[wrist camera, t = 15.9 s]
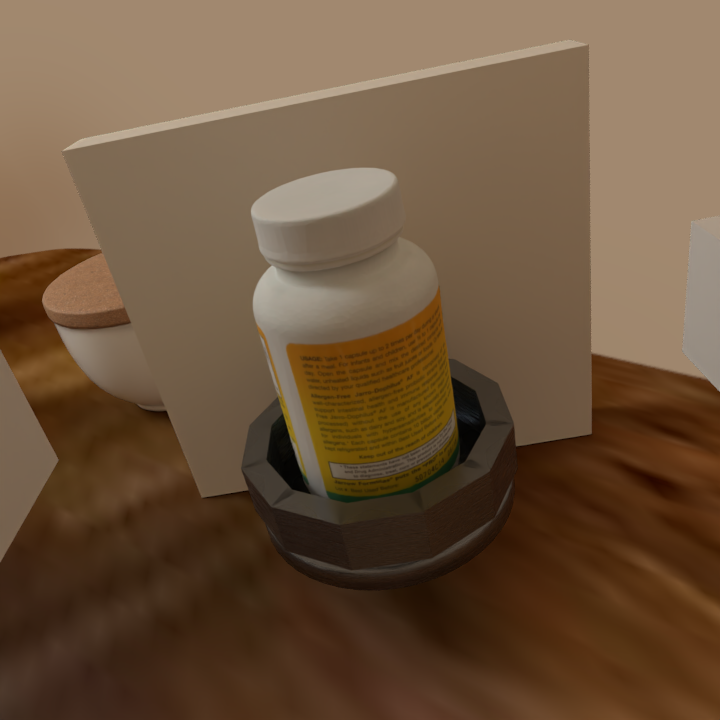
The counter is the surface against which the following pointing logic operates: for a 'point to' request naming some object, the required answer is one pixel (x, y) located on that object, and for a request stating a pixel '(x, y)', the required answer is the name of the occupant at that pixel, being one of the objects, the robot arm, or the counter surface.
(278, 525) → the cup bracket
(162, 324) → the wall board
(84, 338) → the lidded jar
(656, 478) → the counter surface
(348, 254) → the supplement bottle
